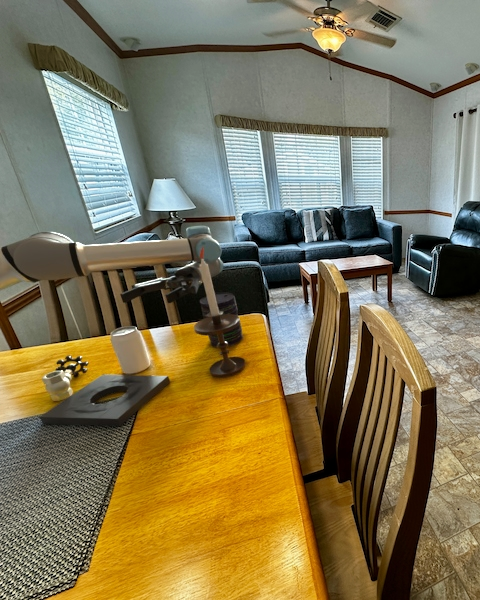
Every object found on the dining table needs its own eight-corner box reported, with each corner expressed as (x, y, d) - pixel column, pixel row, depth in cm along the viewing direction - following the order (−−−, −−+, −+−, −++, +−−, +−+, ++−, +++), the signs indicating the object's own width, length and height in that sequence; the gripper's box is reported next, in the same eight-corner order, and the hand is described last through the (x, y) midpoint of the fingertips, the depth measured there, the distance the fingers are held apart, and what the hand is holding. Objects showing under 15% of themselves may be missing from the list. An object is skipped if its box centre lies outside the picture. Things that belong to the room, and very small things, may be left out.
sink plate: (42, 424, 73) (38, 416, 72) (105, 380, 88) (102, 374, 87) (120, 426, 72) (117, 419, 71) (170, 382, 87) (168, 375, 86)
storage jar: (220, 350, 102) (210, 306, 96) (204, 342, 107) (192, 300, 101) (249, 337, 109) (241, 296, 104) (232, 330, 114) (223, 290, 109)
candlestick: (250, 355, 99) (227, 240, 86) (246, 375, 90) (219, 250, 77) (210, 361, 96) (180, 243, 83) (202, 382, 87) (166, 253, 73)
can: (139, 374, 90) (125, 336, 85) (116, 374, 90) (101, 336, 86) (156, 361, 96) (144, 325, 91) (134, 361, 96) (121, 325, 92)
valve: (77, 397, 81) (93, 372, 91) (67, 375, 79) (84, 352, 89) (41, 405, 78) (61, 379, 88) (29, 383, 76) (51, 358, 86)
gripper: (227, 286, 116) (189, 310, 96) (159, 285, 117) (108, 310, 97) (223, 266, 113) (183, 286, 94) (153, 265, 114) (99, 286, 95)
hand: (145, 298), depth 95 cm, fingers open, 13 cm apart
